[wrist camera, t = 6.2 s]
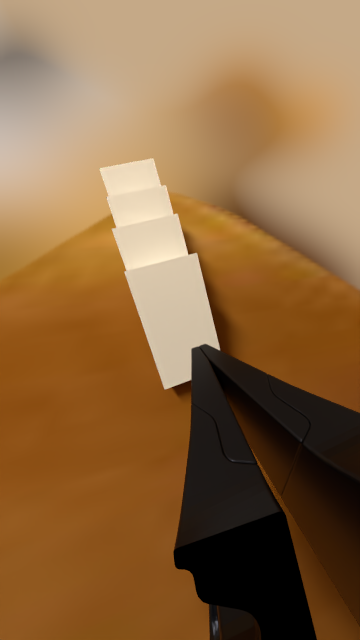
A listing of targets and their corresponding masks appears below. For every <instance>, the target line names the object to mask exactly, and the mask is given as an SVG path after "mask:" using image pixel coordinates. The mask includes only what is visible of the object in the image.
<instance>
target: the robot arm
mask: <svg viewBox="0 0 360 640" xmlns="http://www.w3.org/2000/svg"><path fill="white" fill-rule="evenodd" d="M191 404H192V405H191V430H190V441H189V451H188V459H187V467H186V475H185V484H184V492H183V500H182V507H181V514H180V520H179V526H178V532H177V538H176V543H175V548H174V562H175V567H176V568H177V569H185V570H188V571H190V572H191V573H192V574H193V577H194V581H195V587H196V592H197V595H198V597H199V598H200V599H201V600H202V601H203V602H204V603H207V604H209V625H210V640H317V638H316V634H315V630H314V626H313V622H312V618H311V614H310V610H309V606H308V602H307V598H306V594H305V590H304V586H303V582H302V578H301V574H300V570H299V566H298V562H297V558H296V554H295V550H294V546H293V542H292V538H291V534H290V530H289V526H288V522H287V518H286V515H285V513H284V511H283V510H282V508H281V506H280V505H279V503H278V502H277V500H276V498H275V497H274V495H273V493H272V491H271V489H270V487H269V485H268V484H267V482H266V480H265V478H264V476H263V474H262V472H261V470H260V468H259V466H258V465H257V461H256V459H255V457H254V455H253V453H252V450H253V452H254V453H255V455H256V457H257V458H258V460H259V462H260V463H261V465H262V466H263V468H264V470H265V471H266V473H267V475H268V476H269V478H270V480H271V481H272V483H273V485H274V486H275V488H276V489H277V491H278V493H279V494H280V496H281V498H282V500H283V501H284V503H285V504H286V506H287V508H288V509H289V511H290V513H291V514H292V516H293V518H294V519H295V521H296V523H297V524H298V526H299V527H300V529H301V531H302V532H303V534H304V536H305V537H306V539H307V541H308V542H309V544H310V546H311V547H312V549H313V550H314V552H315V554H316V555H317V557H318V559H319V560H320V562H321V564H322V565H323V567H324V569H325V570H326V572H327V573H328V575H329V577H330V578H331V580H332V582H333V583H334V585H335V587H336V588H337V590H338V592H339V593H340V595H341V596H342V598H343V600H344V601H345V603H346V605H347V606H348V608H349V610H350V611H351V613H352V614H353V616H354V618H355V619H356V621H357V623H358V624H359V626H360V413H358V412H356V411H353V410H351V409H348V408H346V407H343V406H341V405H339V404H336V403H334V402H331V401H329V400H326V399H324V398H321V397H319V396H316V395H314V394H311V393H309V392H306V391H304V390H302V389H299V388H297V387H295V386H292V385H290V384H288V383H286V382H284V381H282V380H279V379H277V378H275V377H273V376H271V375H269V374H268V375H267V373H265V372H263V371H261V370H259V369H257V368H255V367H253V366H250V365H248V364H246V363H244V362H242V361H240V360H238V359H236V358H234V357H232V356H230V355H228V354H226V353H224V352H222V351H220V350H218V349H216V348H214V347H212V346H210V345H208V344H203V345H200V346H199V347H198V346H197V347H194V348H192V349H191ZM248 443H249V444H248ZM249 445H250V446H249ZM250 447H251V448H252V450H251V448H250Z"/></svg>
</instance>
